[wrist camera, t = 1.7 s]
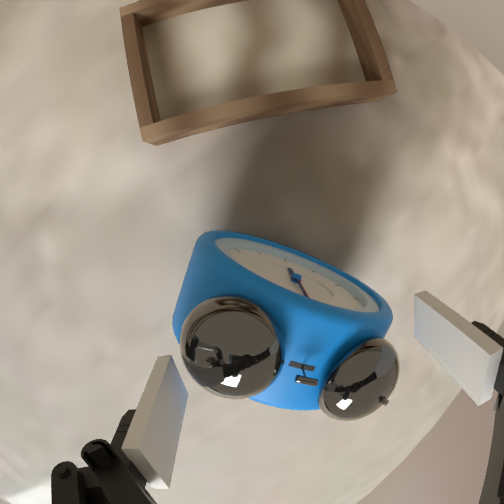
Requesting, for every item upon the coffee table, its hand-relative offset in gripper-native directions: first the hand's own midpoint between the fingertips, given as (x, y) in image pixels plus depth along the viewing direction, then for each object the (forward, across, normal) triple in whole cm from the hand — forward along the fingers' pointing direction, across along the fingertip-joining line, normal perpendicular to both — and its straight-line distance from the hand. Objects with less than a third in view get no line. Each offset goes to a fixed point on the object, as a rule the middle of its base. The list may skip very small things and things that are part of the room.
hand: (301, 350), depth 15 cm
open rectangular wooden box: (+12, +3, +19) cm, 22 cm away
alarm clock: (+12, 0, 0) cm, 12 cm away
